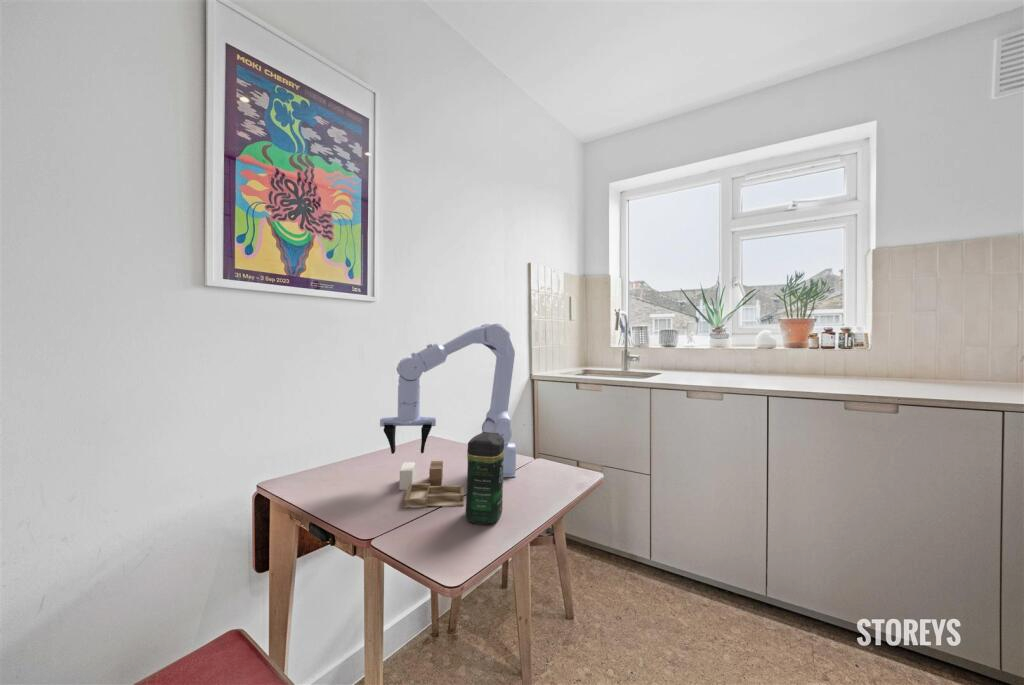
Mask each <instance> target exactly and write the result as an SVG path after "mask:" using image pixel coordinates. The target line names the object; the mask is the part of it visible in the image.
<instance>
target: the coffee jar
mask: <svg viewBox="0 0 1024 685" xmlns="http://www.w3.org/2000/svg"><path fill="white" fill-rule="evenodd" d="M466 452H467V456H466V457H467V472H466V474H467V475H466V477H467V478H466V496H465V498H466V501H465V518H466V520H467V521H469V522H472V523H473V524H477V525H486V524H488V525H489V524H495V523H496V522H497V521H498V520H499V519H500V517H501V515H502V512H503V502H504V501H503V500H504V498H503V496H504V494H503V492H504V491H503V490H504V488H503V487H504V485H503V484H504V477H503V463H504V438H503V437H502V436H500V435H499V433H492V432H482V431H481V433H478V434H476V435H474V436H473V437H471V439H470V440H469V441H468V442H467V451H466Z"/></svg>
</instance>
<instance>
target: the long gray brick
mask: <svg viewBox="0 0 1024 685" xmlns="http://www.w3.org/2000/svg"><path fill="white" fill-rule="evenodd" d="M415 481H416V461H415V462H414V461H404V462H402V465H401V468H400V469H399V488H398V489H399V490H401V491H402V490H406V491H407V489H408V486H409V484H415Z"/></svg>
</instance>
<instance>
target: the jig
mask: <svg viewBox="0 0 1024 685" xmlns="http://www.w3.org/2000/svg"><path fill="white" fill-rule="evenodd" d="M464 492H465V491H464V484H462V485H461V484H460V485H441V486H430V483H429V482H428V483H414V484H409V486H408V489H407V490H406V492H405V495H404V498H403V505H402V506H403V507H402V508H407V507H411V508H428V507H427V506H442V507H463V506H464ZM425 506H426V507H425Z"/></svg>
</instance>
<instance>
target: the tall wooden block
mask: <svg viewBox="0 0 1024 685" xmlns="http://www.w3.org/2000/svg"><path fill="white" fill-rule="evenodd" d="M443 462H444V461H443V460H431V461H430V465H429V472H428V473H429V474H428V475H429V477H428V479H429V480H428V481H429V482H428V483H430V486H443V485H442V483H443V476H444V473H443V472H444V470H443V467H444V463H443Z"/></svg>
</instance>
